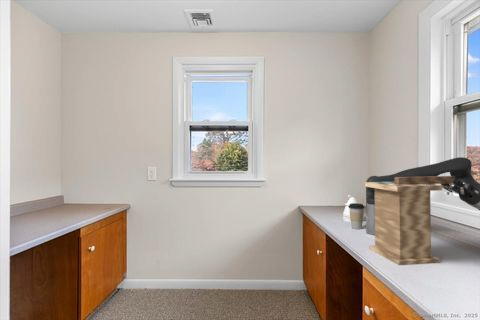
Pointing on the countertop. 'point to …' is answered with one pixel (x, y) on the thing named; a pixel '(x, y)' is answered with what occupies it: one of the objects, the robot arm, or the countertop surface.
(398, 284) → the countertop surface
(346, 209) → the honey pot
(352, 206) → the coffee cup
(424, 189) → the oak lectern
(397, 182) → the walnut bar
